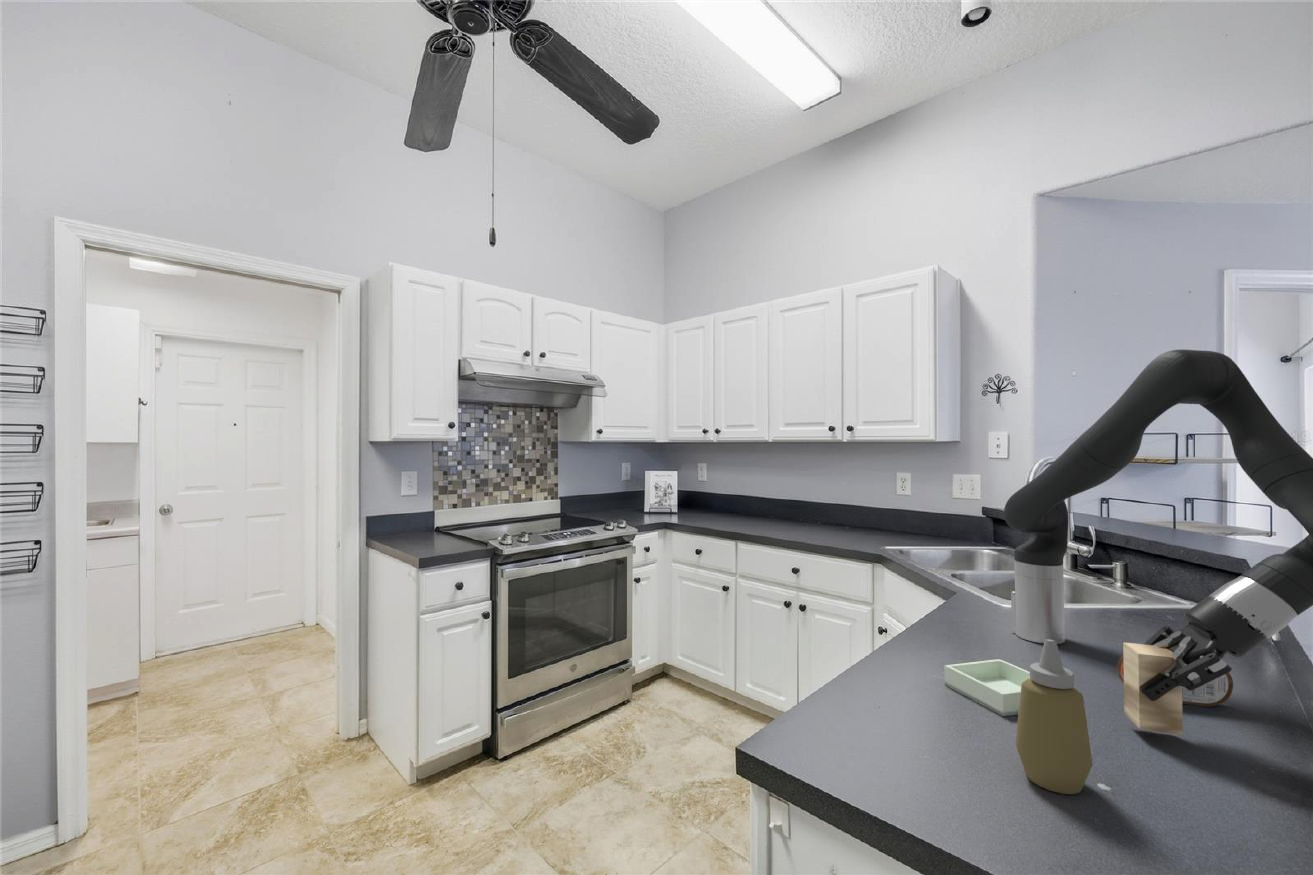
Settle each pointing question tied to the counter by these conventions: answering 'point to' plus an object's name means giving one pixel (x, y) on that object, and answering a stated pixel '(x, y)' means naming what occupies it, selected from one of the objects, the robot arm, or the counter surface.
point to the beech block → (1137, 707)
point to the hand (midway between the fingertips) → (1136, 687)
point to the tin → (1201, 690)
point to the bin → (988, 684)
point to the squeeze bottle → (1053, 726)
